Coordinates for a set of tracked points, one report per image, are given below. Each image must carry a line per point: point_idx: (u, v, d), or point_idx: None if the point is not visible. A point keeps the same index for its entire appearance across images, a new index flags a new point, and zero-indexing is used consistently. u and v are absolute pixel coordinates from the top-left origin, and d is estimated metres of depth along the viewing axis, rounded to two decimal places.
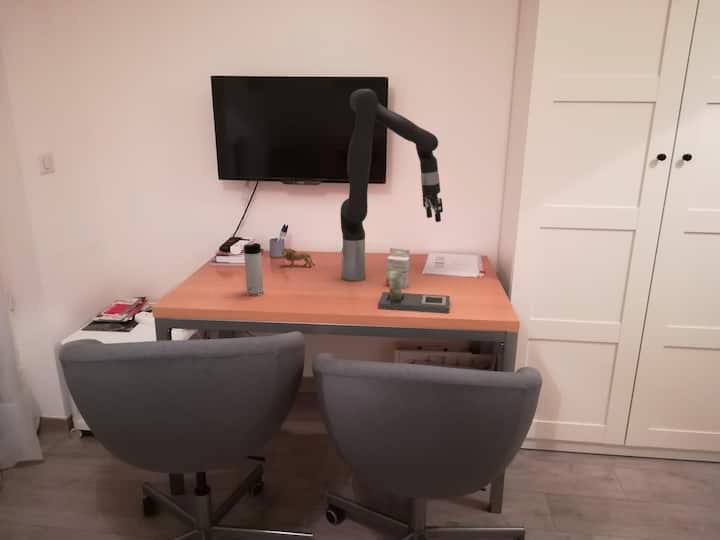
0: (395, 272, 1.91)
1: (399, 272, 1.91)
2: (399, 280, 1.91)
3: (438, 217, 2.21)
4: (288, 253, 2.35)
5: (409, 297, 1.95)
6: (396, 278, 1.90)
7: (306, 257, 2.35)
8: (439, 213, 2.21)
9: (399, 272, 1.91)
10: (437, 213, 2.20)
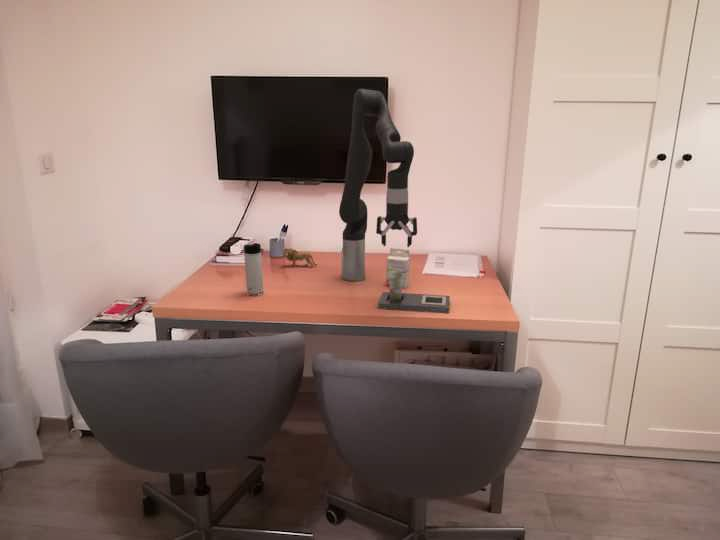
0: (395, 272, 1.91)
1: (399, 272, 1.91)
2: (399, 280, 1.91)
3: None
4: (290, 253, 2.35)
5: (409, 297, 1.95)
6: (396, 278, 1.90)
7: (308, 257, 2.35)
8: (381, 235, 1.88)
9: (399, 272, 1.91)
10: None
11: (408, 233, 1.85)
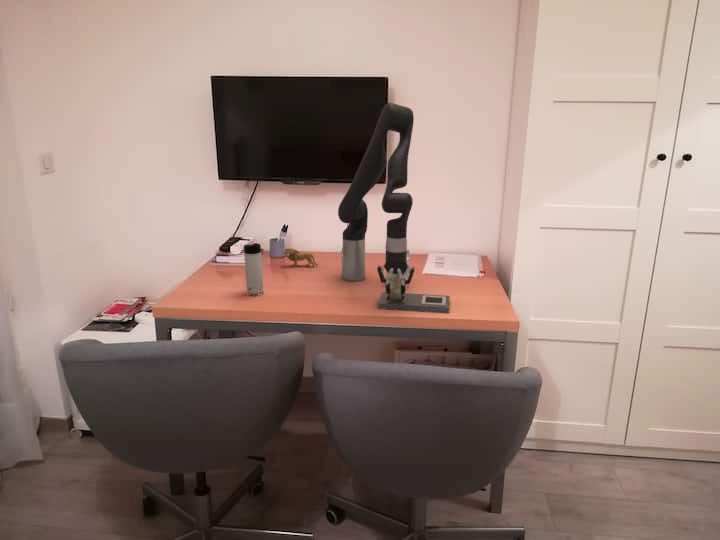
0: None
1: None
2: (399, 280, 1.91)
3: (386, 287, 1.94)
4: (291, 253, 2.35)
5: (409, 297, 1.95)
6: (396, 278, 1.90)
7: (309, 257, 2.35)
8: (385, 283, 1.93)
9: None
10: None
11: (402, 282, 1.91)
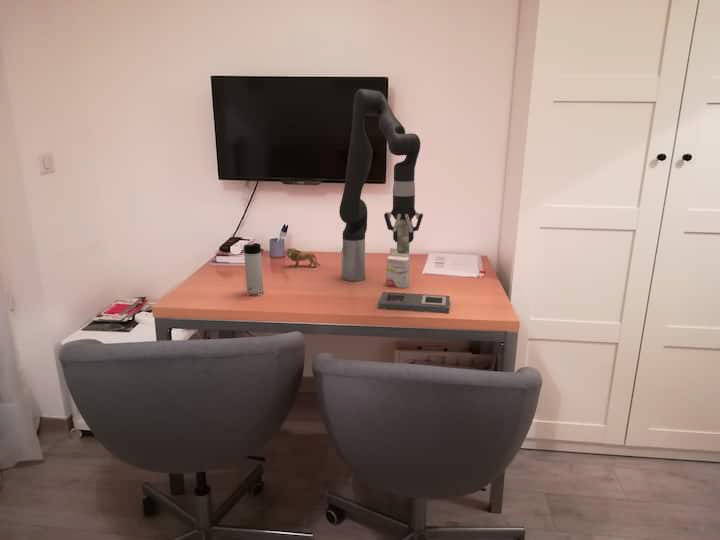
0: None
1: None
2: (407, 226, 1.84)
3: None
4: (293, 253, 2.34)
5: (409, 297, 1.95)
6: (404, 224, 1.83)
7: (311, 257, 2.35)
8: (393, 231, 1.87)
9: None
10: None
11: (410, 228, 1.84)
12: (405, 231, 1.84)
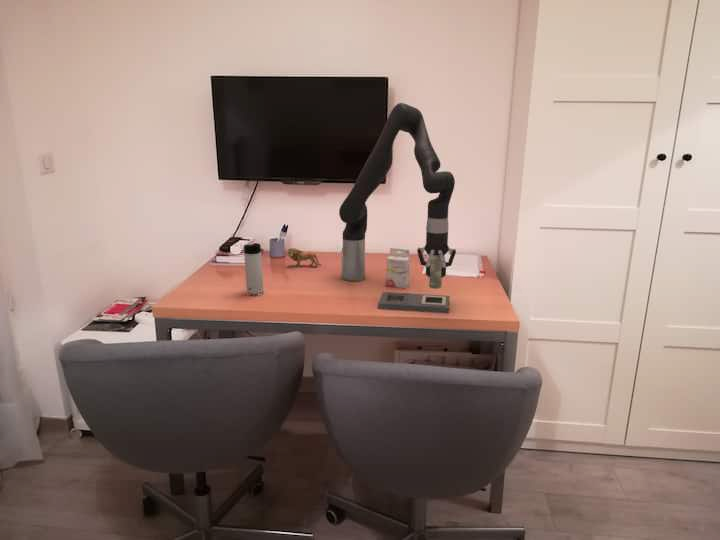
0: None
1: None
2: (440, 262, 1.86)
3: (426, 270, 1.90)
4: (294, 253, 2.34)
5: (409, 297, 1.95)
6: (437, 260, 1.85)
7: (312, 257, 2.35)
8: None
9: None
10: None
11: (443, 264, 1.86)
12: (438, 266, 1.86)
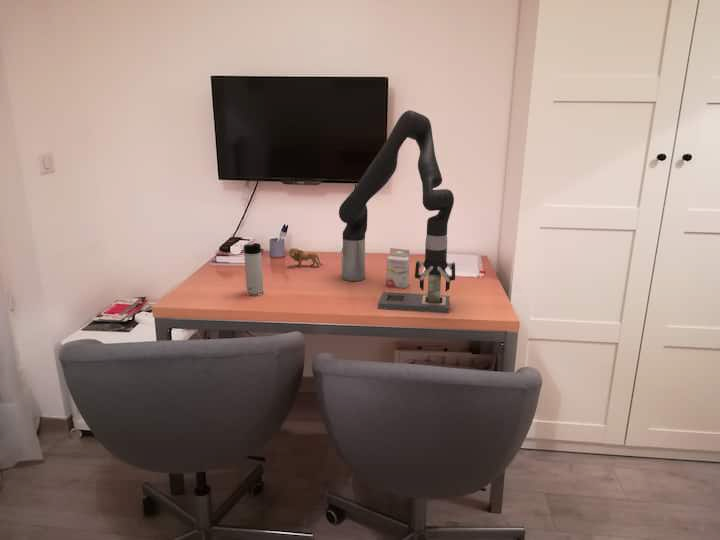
0: (434, 274, 1.89)
1: None
2: (438, 282, 1.88)
3: None
4: (296, 253, 2.34)
5: (409, 297, 1.95)
6: (435, 280, 1.87)
7: (314, 257, 2.35)
8: (419, 279, 1.90)
9: (438, 275, 1.89)
10: None
11: (446, 278, 1.87)
12: (436, 287, 1.88)
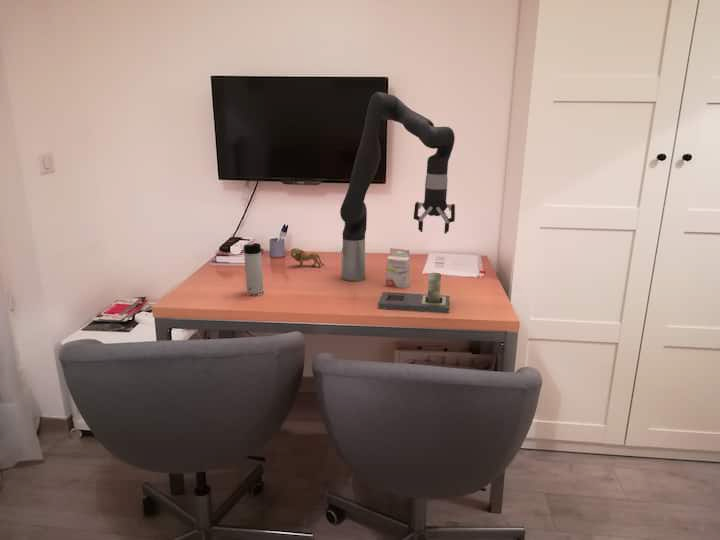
0: (433, 274, 1.89)
1: (438, 274, 1.89)
2: (438, 282, 1.88)
3: None
4: (297, 253, 2.34)
5: (409, 297, 1.95)
6: (435, 280, 1.88)
7: (315, 257, 2.35)
8: None
9: (438, 274, 1.89)
10: None
11: (446, 219, 1.85)
12: (436, 286, 1.88)
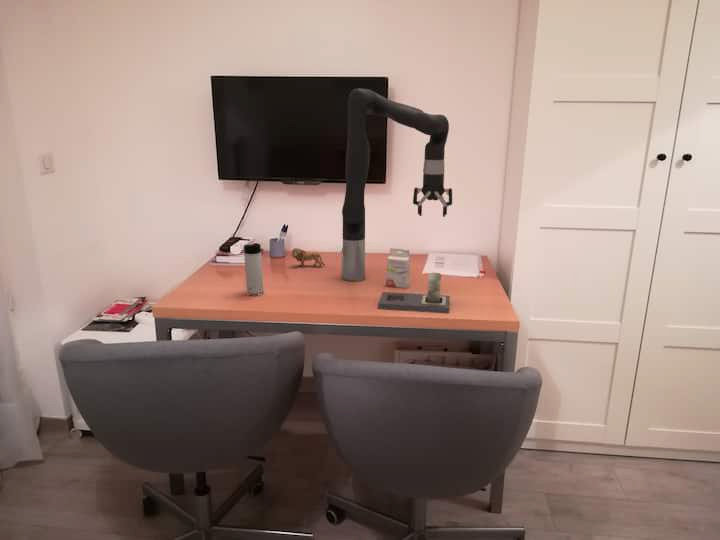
0: (434, 274, 1.89)
1: (438, 274, 1.89)
2: (438, 282, 1.88)
3: (418, 209, 1.97)
4: (298, 253, 2.34)
5: (409, 297, 1.95)
6: (435, 280, 1.87)
7: (317, 257, 2.35)
8: (417, 205, 1.96)
9: (438, 275, 1.89)
10: None
11: (444, 203, 1.94)
12: (436, 287, 1.88)
